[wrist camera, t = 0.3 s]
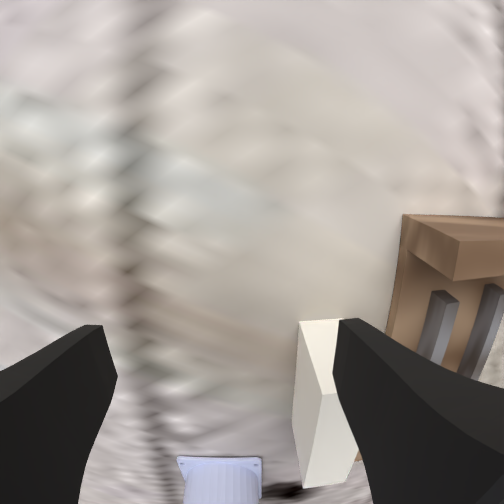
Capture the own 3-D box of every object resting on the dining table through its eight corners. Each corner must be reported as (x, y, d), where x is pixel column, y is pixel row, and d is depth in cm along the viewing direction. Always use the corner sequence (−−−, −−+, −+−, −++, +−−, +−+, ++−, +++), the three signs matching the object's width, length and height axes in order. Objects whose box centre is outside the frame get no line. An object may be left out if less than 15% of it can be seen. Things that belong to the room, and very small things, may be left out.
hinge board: (444, 429, 25) (466, 464, 20) (349, 454, 25) (364, 500, 19) (515, 218, 18) (566, 239, 12) (402, 214, 18) (459, 241, 12)
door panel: (337, 415, 23) (358, 479, 16) (291, 420, 23) (303, 488, 16) (356, 316, 20) (398, 382, 13) (298, 320, 20) (322, 394, 13)
